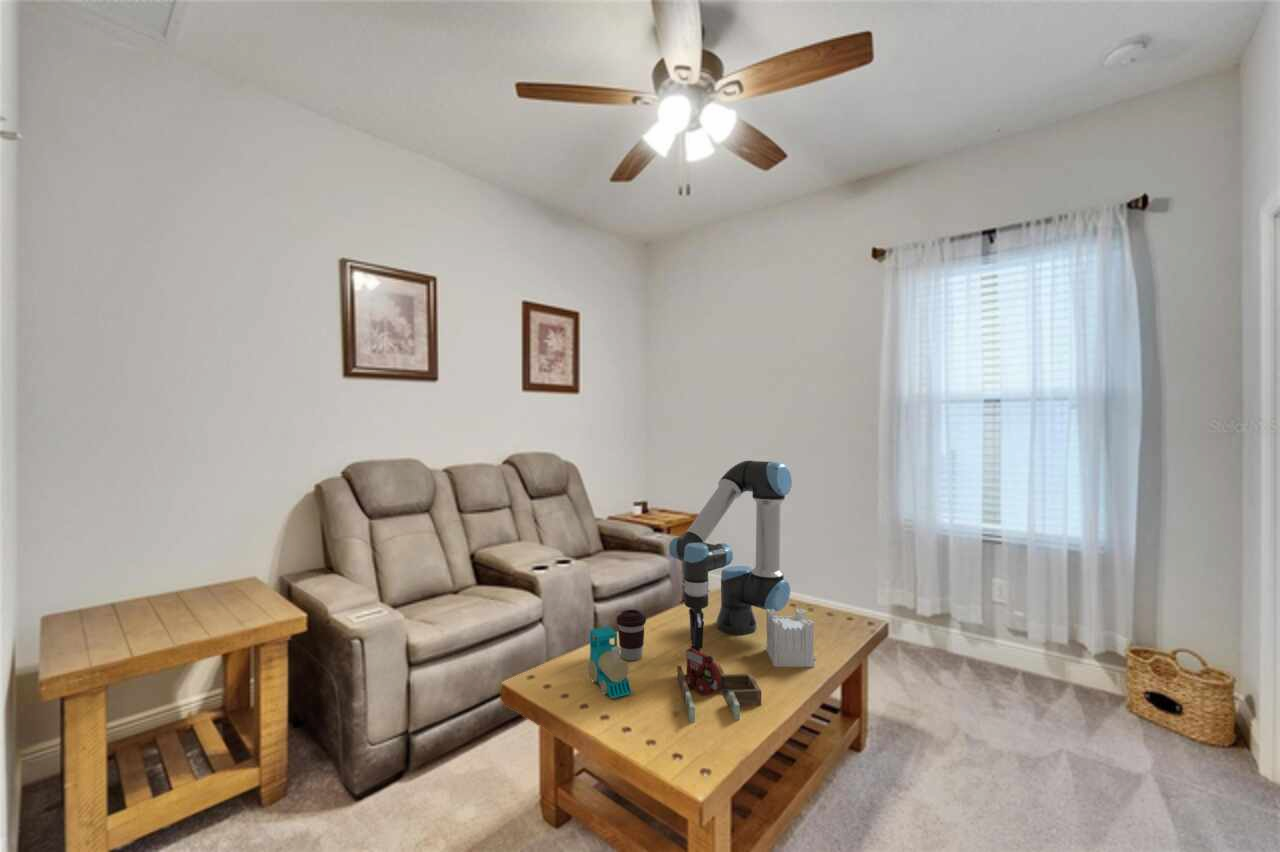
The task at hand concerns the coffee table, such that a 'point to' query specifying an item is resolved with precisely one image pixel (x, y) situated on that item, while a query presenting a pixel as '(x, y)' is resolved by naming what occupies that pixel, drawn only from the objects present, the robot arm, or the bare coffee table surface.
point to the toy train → (608, 663)
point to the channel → (688, 700)
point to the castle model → (790, 640)
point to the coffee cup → (631, 634)
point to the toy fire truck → (701, 672)
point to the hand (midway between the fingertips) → (696, 666)
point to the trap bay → (742, 689)
